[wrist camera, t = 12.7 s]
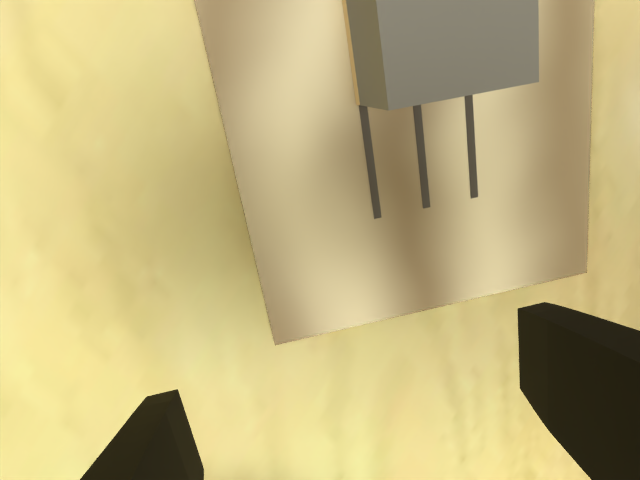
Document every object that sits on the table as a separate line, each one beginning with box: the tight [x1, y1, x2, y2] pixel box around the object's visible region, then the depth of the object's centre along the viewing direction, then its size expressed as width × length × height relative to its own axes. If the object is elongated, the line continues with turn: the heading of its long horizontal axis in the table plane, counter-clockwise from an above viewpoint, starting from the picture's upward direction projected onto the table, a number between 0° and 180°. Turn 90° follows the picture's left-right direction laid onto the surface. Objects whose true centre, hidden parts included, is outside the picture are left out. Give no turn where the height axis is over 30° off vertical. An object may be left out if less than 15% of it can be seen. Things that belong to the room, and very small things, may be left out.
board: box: [194, 0, 594, 345], centre depth 17 cm, size 14×18×1 cm
